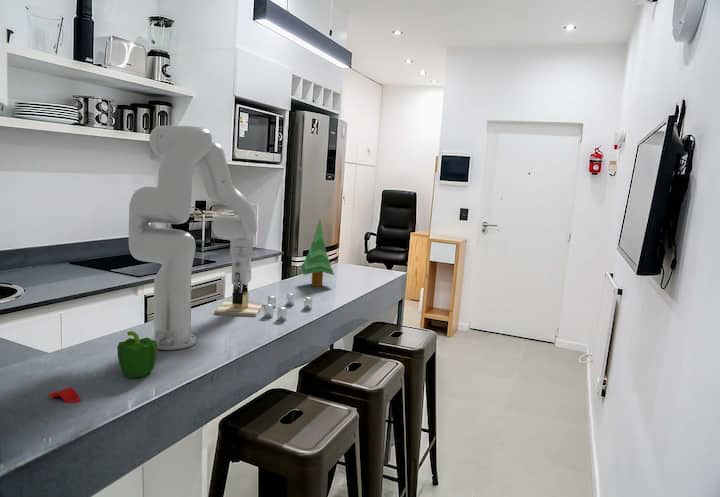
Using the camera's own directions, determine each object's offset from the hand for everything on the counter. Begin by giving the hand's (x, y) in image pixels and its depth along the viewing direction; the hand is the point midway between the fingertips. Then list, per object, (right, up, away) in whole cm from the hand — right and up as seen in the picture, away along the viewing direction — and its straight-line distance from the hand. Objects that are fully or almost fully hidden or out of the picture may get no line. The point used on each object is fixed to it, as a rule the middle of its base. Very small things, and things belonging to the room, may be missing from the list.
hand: (240, 300), depth 176 cm
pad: (0, -3, 0) cm, 3 cm away
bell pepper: (-10, -11, -58) cm, 60 cm away
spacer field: (+16, -4, +2) cm, 16 cm away
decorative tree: (+23, +2, +46) cm, 52 cm away
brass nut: (0, -2, 0) cm, 2 cm away
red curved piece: (-19, -13, -72) cm, 76 cm away
